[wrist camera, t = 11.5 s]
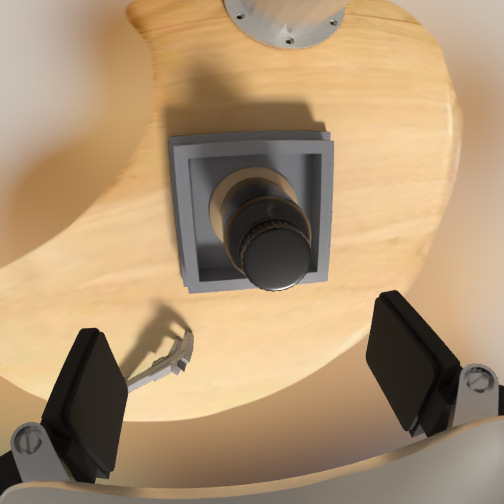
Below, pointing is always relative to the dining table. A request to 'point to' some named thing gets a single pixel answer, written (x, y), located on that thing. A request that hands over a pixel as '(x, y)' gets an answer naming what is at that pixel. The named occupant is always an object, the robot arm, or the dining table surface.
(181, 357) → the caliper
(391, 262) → the dining table surface
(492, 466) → the robot arm
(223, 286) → the housing
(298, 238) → the supplement bottle
